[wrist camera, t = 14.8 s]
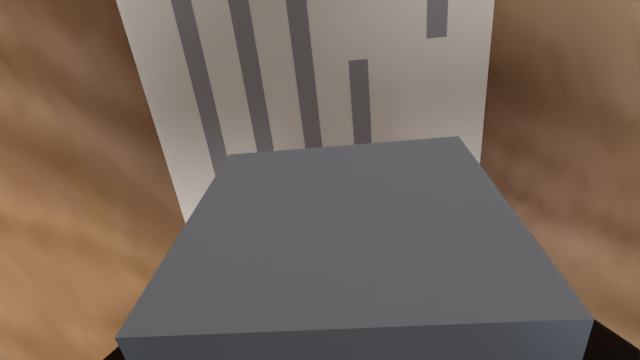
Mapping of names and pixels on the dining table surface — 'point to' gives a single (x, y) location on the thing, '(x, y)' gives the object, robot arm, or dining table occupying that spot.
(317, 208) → the cube
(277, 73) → the letter
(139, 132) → the dining table surface
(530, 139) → the dining table surface
